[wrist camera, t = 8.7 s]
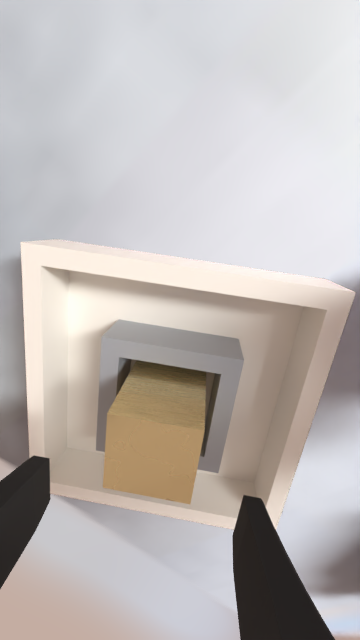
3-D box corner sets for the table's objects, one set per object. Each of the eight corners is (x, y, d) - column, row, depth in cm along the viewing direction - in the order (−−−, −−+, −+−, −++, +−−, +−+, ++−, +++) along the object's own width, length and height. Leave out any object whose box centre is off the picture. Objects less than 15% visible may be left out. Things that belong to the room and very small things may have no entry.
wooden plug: (206, 356, 18) (204, 430, 11) (197, 409, 19) (190, 504, 13) (144, 346, 18) (107, 413, 12) (139, 399, 20) (102, 487, 13)
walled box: (325, 278, 17) (356, 292, 13) (263, 488, 22) (273, 537, 18) (57, 239, 17) (20, 242, 14) (58, 449, 22) (30, 489, 19)
